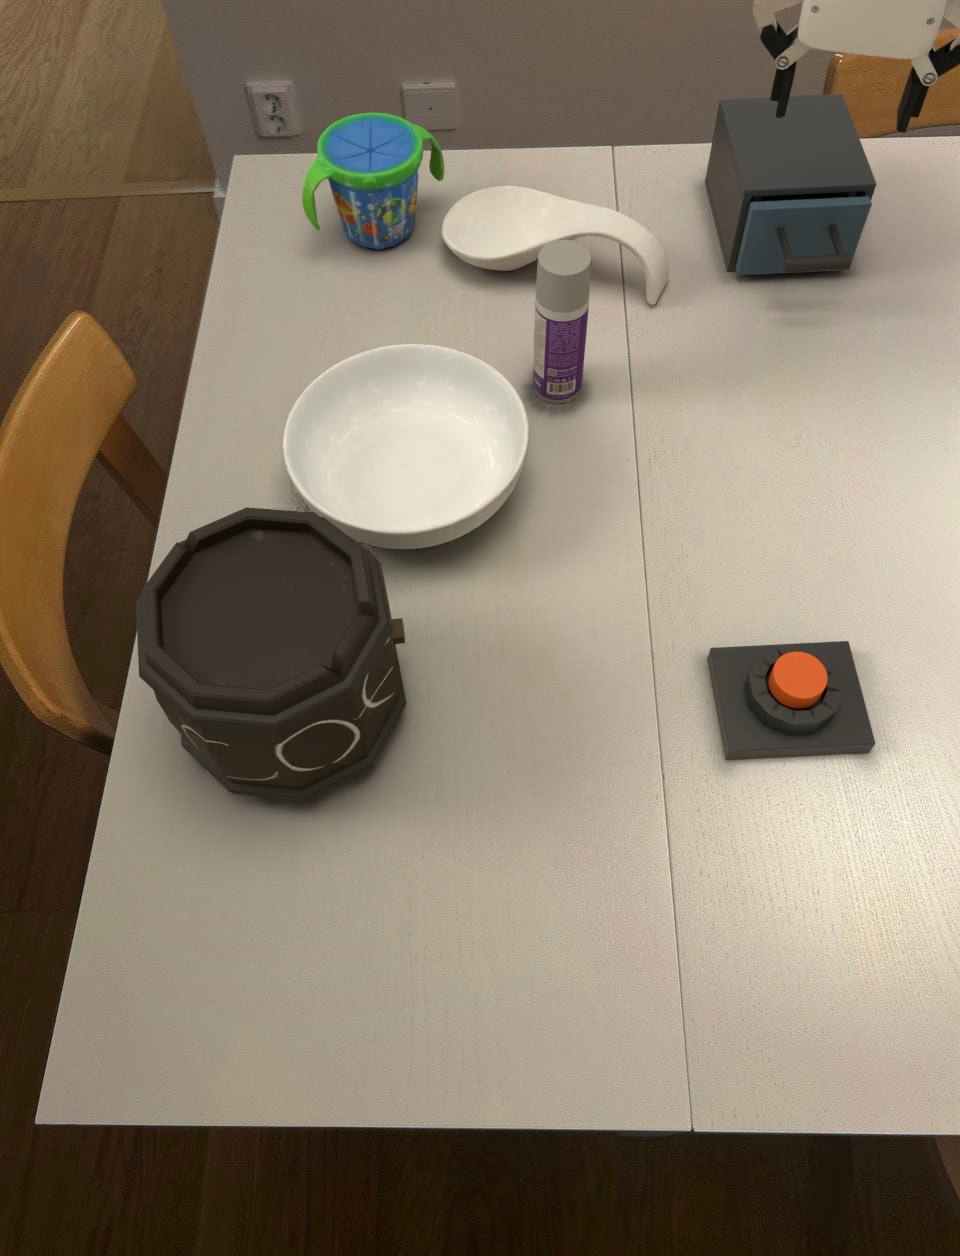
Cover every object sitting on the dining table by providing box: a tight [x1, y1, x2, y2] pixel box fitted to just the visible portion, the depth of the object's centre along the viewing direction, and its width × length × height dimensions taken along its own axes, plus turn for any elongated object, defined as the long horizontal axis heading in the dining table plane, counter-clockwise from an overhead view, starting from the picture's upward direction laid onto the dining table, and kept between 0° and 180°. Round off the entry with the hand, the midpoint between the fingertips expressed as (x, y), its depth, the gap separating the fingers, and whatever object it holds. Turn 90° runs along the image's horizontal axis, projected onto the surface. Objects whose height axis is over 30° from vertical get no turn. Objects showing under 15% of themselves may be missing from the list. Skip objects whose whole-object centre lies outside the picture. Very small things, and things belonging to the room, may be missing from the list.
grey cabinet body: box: [704, 93, 877, 272], centre depth 109 cm, size 15×13×10 cm
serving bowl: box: [282, 343, 530, 550], centre depth 92 cm, size 21×21×7 cm
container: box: [532, 240, 592, 405], centre depth 95 cm, size 5×5×15 cm
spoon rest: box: [441, 185, 670, 306], centre depth 107 cm, size 24×12×7 cm, turn 68°
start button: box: [769, 652, 828, 709], centre depth 80 cm, size 4×4×2 cm
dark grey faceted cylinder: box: [135, 506, 407, 802], centre depth 77 cm, size 18×18×16 cm
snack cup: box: [301, 112, 446, 251], centre depth 109 cm, size 16×10×10 cm
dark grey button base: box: [706, 640, 876, 761], centre depth 82 cm, size 11×9×4 cm
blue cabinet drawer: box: [735, 192, 872, 276], centre depth 106 cm, size 19×11×8 cm, turn 3°
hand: (840, 115), depth 87 cm, fingers open, 9 cm apart
